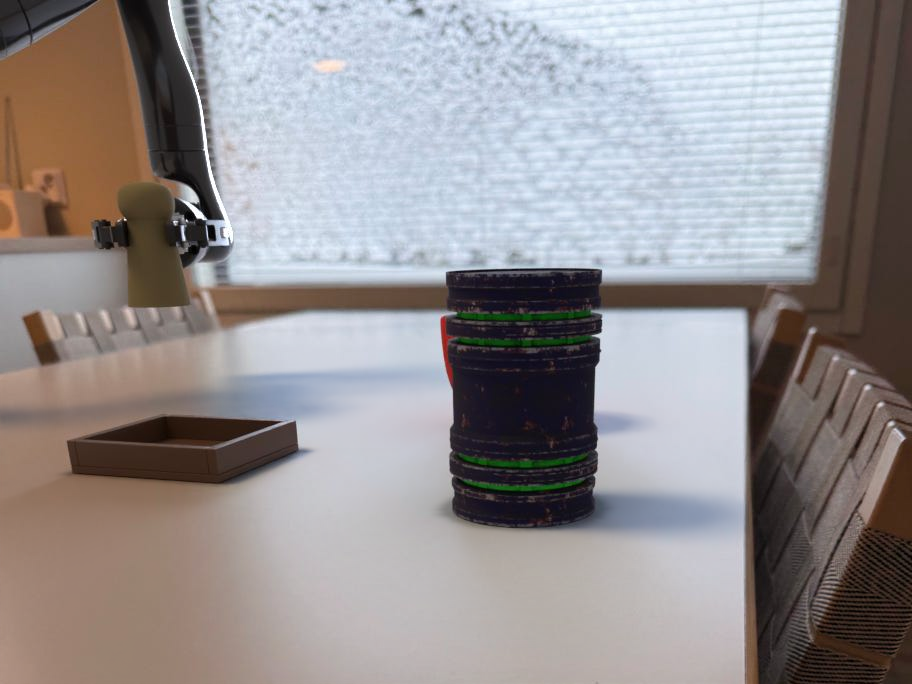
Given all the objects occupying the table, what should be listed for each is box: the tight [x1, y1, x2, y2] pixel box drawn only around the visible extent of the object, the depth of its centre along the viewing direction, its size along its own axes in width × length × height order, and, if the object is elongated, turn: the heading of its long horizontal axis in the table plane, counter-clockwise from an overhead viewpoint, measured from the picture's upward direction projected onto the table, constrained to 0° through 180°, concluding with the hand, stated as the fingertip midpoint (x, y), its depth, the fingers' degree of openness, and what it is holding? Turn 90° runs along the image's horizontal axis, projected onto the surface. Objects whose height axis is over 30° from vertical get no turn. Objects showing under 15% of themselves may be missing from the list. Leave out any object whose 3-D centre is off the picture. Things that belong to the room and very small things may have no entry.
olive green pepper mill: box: [116, 180, 193, 309], centre depth 92 cm, size 6×6×11 cm
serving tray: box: [66, 413, 300, 484], centre depth 79 cm, size 14×13×3 cm
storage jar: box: [445, 267, 603, 528], centre depth 62 cm, size 10×10×15 cm
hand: (146, 234), depth 89 cm, fingers closed on olive green pepper mill, 4 cm apart
